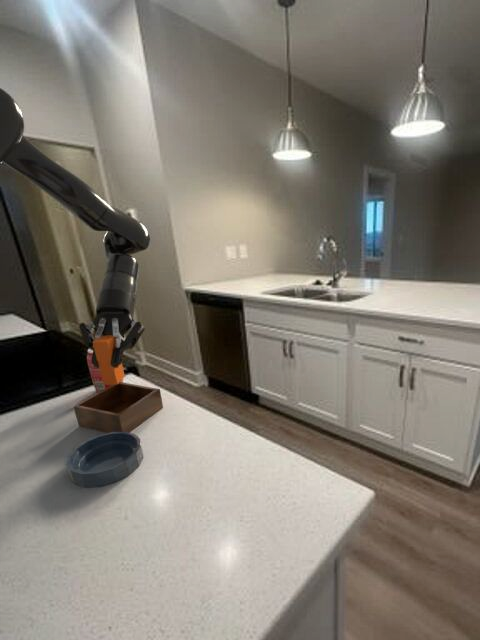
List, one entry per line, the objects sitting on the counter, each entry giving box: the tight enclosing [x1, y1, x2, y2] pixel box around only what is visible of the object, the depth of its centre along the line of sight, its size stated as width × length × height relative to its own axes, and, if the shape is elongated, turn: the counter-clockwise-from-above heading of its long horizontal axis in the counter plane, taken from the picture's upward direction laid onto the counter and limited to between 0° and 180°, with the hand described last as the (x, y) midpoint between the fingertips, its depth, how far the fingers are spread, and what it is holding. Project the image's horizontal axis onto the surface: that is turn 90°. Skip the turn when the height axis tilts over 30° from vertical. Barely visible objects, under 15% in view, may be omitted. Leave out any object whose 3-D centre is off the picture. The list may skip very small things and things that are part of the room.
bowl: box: [65, 432, 144, 488], centre depth 65 cm, size 12×12×4 cm
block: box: [93, 335, 126, 385], centre depth 75 cm, size 4×3×10 cm
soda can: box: [86, 348, 124, 393], centre depth 91 cm, size 7×7×12 cm
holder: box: [72, 381, 164, 434], centre depth 79 cm, size 13×13×6 cm
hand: (105, 366), depth 73 cm, fingers closed on block, 3 cm apart
